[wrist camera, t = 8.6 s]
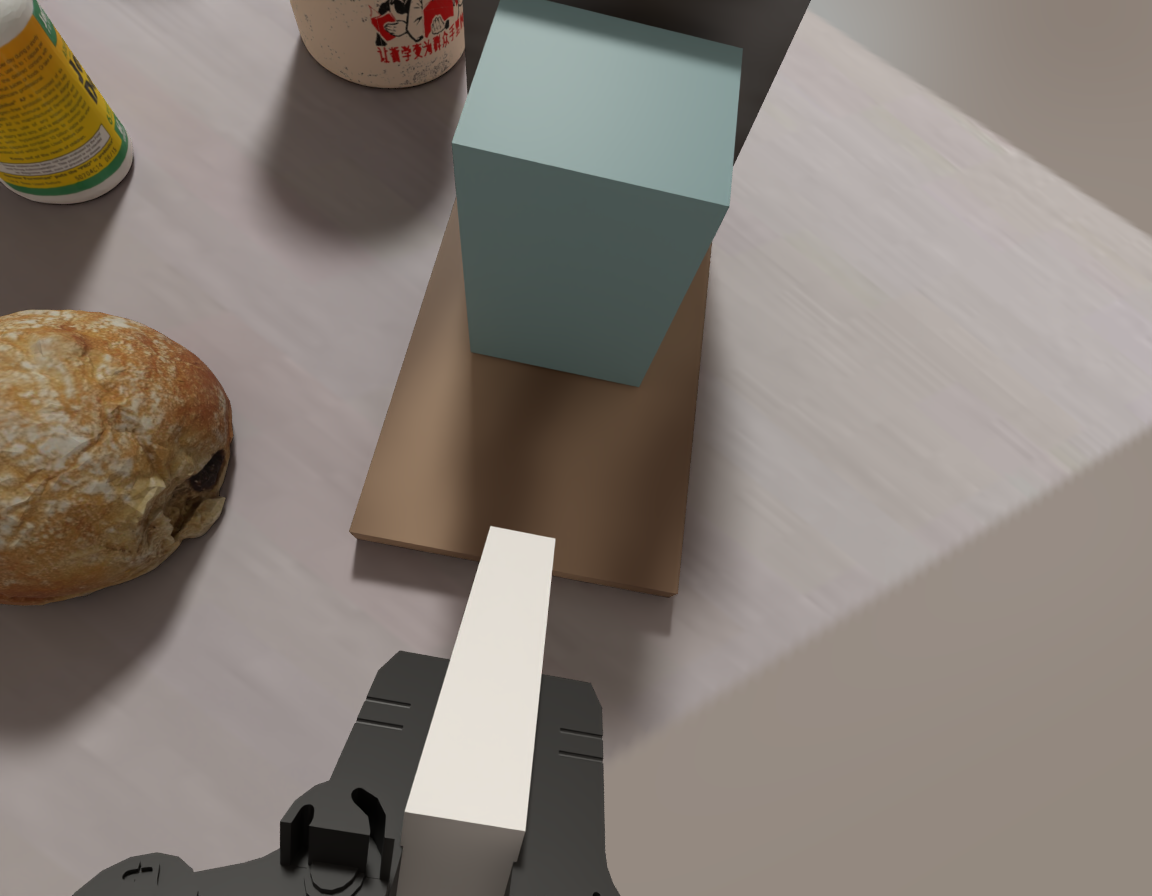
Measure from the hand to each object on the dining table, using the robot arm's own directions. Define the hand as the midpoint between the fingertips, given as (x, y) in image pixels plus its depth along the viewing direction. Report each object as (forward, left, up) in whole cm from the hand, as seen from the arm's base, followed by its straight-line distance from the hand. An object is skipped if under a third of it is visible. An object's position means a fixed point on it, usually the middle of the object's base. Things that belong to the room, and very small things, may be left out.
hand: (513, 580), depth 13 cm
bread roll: (-16, +2, -9) cm, 18 cm away
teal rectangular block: (0, +13, -7) cm, 14 cm away
